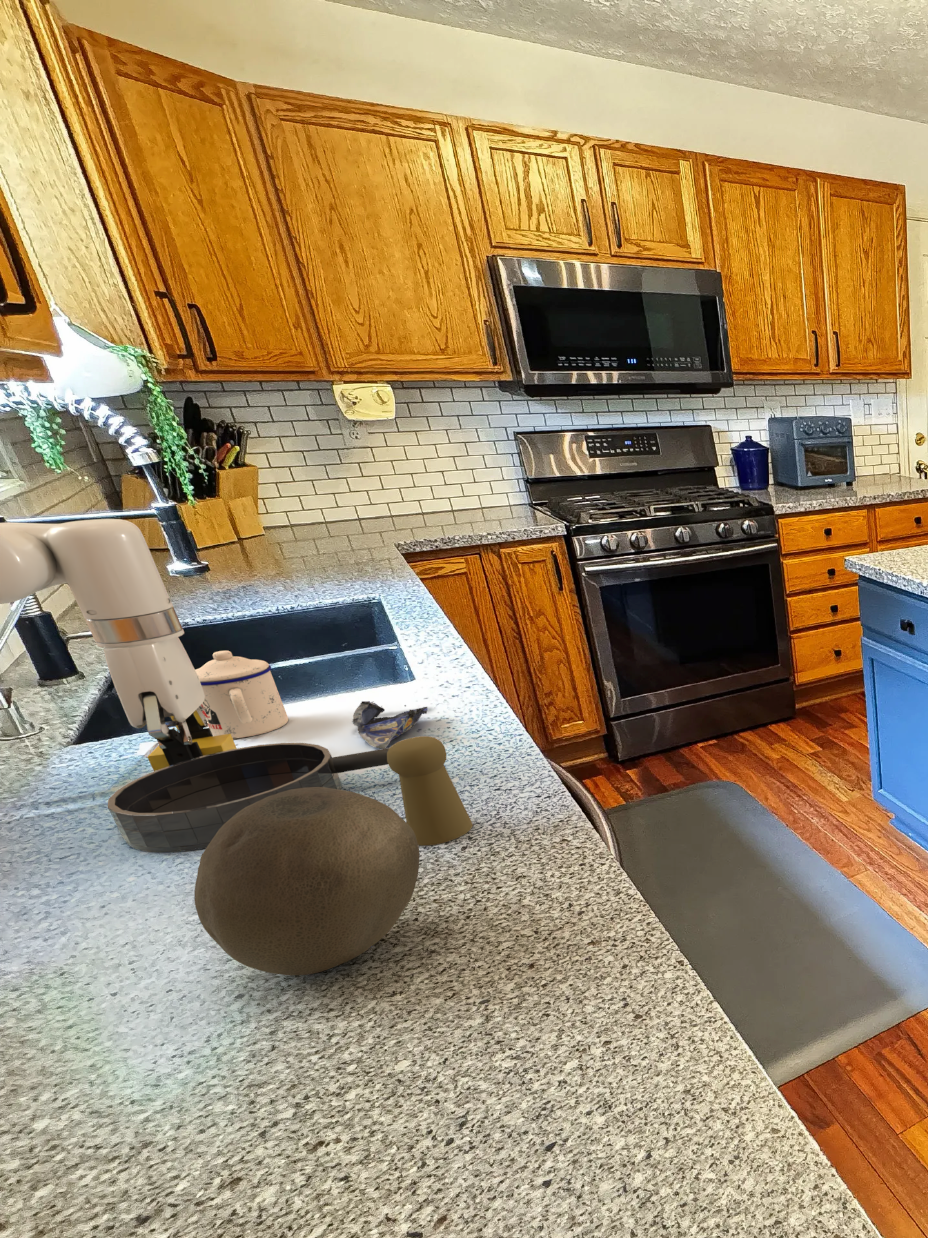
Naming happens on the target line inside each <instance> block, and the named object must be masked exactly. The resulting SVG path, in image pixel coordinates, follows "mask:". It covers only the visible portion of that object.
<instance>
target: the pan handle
mask: <svg viewBox="0 0 928 1238" xmlns="http://www.w3.org/2000/svg"><path fill="white" fill-rule="evenodd" d="M385 748H386V749H381V748H379V749H375V750H368V751H361V752H355V753H349V754H345V755H339V756H333V757H332V758H330V759H329V765H330V769H331V771H332V772H333V773H338V774H341V773H346V772H353V771H359V770H364V769H370V768H371V769H372V768H376V767H382V766H389V765H388V762H387V752H388V750H389V748H390V747H385Z"/></svg>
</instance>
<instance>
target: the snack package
mask: <svg viewBox="0 0 928 1238" xmlns="http://www.w3.org/2000/svg"><path fill="white" fill-rule="evenodd" d="M404 707H407V705H406V704H405V705H404ZM384 712H385V708H384V707H383V705H379V704H377V703H376V702H374V701H370V700H365V701H363V700H362V701H361V702H360V704H359V705H358V706H357V708H356V709H355V711H354V712H353V716H352V717H353V718H352V721H351V722H352V725H354V726H355V727H357V732H358V735H359V736H360V738H361V739H362V740H364V741H365V742H367V743H368V745H369V746H371V747H374V748H377V749H386V748H388V747H389V745H390V743H391V741H393V740H394V739H396V738H397V737H399V736H402V734H404V733H406V732H408V731H410V730H411V729H413V728H415V726H416V724H417V723H418V721H419V719H420V718H421V717H422V716H423V715H426V714H427V712H428V706H423V707H420V708H419V707H418V708H416V709H409V710H406V711H403V712H400V713H398V714H396V715H394V716H383V717H379V716H380V715H381V714H382V713H384Z"/></svg>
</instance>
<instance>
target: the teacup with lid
mask: <svg viewBox="0 0 928 1238" xmlns="http://www.w3.org/2000/svg"><path fill="white" fill-rule="evenodd" d="M212 658H213V659H211V660H209V661H207V662H206V663H205V664H203V665H202V666H201V667H198V668H196V669H195V671H196V673H197V676H198V678H199V680H200V683H201V686H202V688H203V691H204V695H205V699H204V702H203V703H202V704H201V705H200V707H202V708H201V710H202V713H203V714H204V716H205V718H206V720H207V722H208V727H207V728H210V730H211V733H212V735H213V736H218V735H225V734H231V736H232V738H233V740H234V739H242V738H243V739H244V738H249V737H254V736H259V735H262V734H266V733H270V732H272V731H276V730H278V729H280V728H281V727H284V726H285V725H286V724H287V723H288V722H289V716H288V715H287V711H286V709H285V706H284V702H283V701H282V698H281V696H280V693H279V691H278V688H277V684H276V682H275V679H274V677H273V675H272V672H271V670H272V666H271V665H270V663H268V662H267V661H265V660H262V659H250V658H247V657H243V656H234V655H233V653H232V651H229V650H219V651H214V652H213V654H212Z"/></svg>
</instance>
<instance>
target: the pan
mask: <svg viewBox="0 0 928 1238" xmlns="http://www.w3.org/2000/svg"><path fill="white" fill-rule="evenodd" d="M236 748H237V747H236ZM330 758H332V754H331V752H330V750H329V749H328V748H326V747H325V746H322V745H319V744H315V743H307V742H277V743H266V744H258V745H251V746H245V747H238V748H237V749H232V750H227V751H222V752H218V753H213V754H209V755H204V756H201V757H197V758H194V759H190V760H186V761H183V762H179V763H177V764H174V765H171V766H168V767H165V768H162V769H159V770H156V771H154V770H153V771H152V772H149V773H147V774H145V775H142V776H140V777H138V778H136V779H133V780H132V781H130V782H129V783H127V784H125V785H123V786H121V787H120V788H118V789H117V790H116V791H115V792H114V793H112V795H111V796H109V798H108V799H107V809H108V811H109V813H110V815H111V817H112V819H113V821H114V823H115V826H116V827H117V829H118V832H119V833H120V835H121V837H122V839H123V840H124V841H125V843H126V844H127V845H128V846H129V847H130V848H132V849H134V850H138V851H142V852H148V853H179V852H188V851H189V852H190V851H196V850H197V851H198V850H205V849H206V847H207V846H208V845H209V843H210V842H211V840H212V839H213V837H214V836H215V835H216V833H217V832H218V830H219V829H220V828H221V827H222V826H223V825H224V824H225V823H226V822H227V821H228V820H229V819H231V818H232V817H233V816H234V815H235V814H237V813H238V812H239V811H241V810H242V809H243V808H245V807H247V806H249V805H251V804H253V803H255V802H258V801H260V800H262V799H264V798H266V797H269V796H271V795H275V794H277V793H280V792H284V791H287V790H291V789H298V788H307V787H325V788H332V789H339V790H343V786H342V781H341V778H340V775H339V773H333V772H332V771H331V769H330V765H329V759H330Z"/></svg>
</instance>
